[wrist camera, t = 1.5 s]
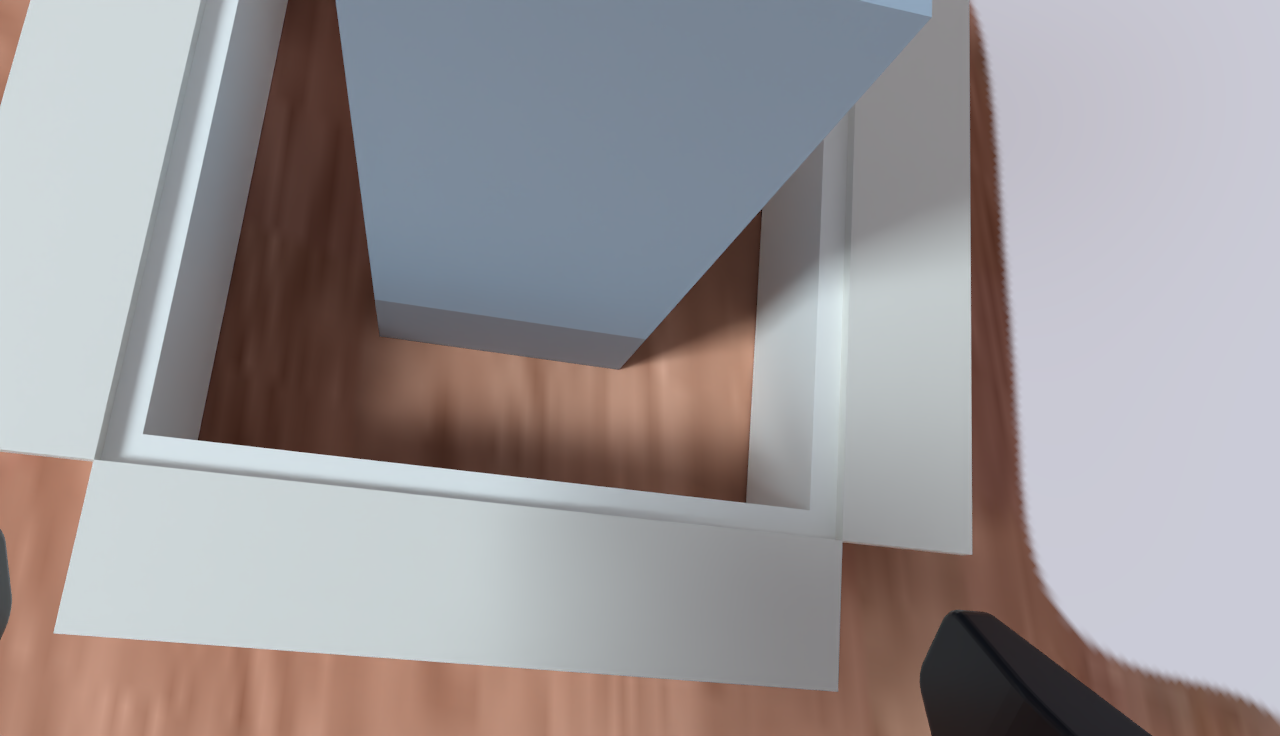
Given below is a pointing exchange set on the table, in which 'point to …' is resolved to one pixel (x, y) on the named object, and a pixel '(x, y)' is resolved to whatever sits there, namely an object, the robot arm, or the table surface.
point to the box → (584, 152)
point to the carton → (445, 498)
